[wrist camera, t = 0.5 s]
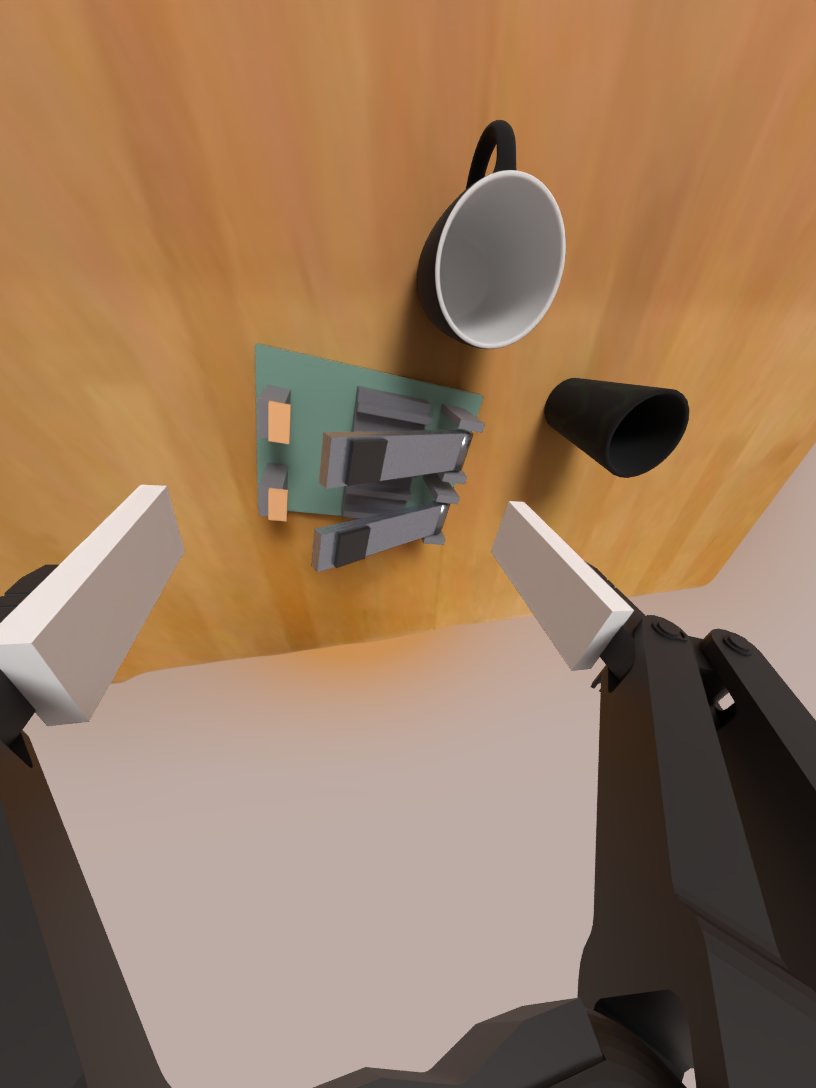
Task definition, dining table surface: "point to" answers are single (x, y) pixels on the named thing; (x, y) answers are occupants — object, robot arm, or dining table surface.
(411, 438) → the strap near
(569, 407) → the cup
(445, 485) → the socket board
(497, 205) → the mug
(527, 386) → the dining table surface
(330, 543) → the strap far
